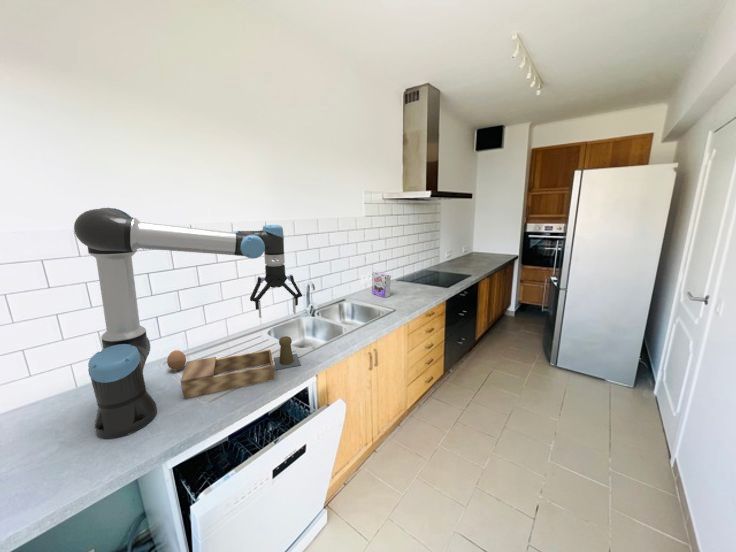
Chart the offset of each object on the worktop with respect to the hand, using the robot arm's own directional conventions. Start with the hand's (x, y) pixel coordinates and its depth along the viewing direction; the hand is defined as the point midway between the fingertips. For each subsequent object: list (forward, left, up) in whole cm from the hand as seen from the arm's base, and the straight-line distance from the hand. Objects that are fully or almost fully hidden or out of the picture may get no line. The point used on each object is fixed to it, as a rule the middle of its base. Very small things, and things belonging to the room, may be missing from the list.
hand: (277, 314), depth 123 cm
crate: (-19, -6, -21) cm, 29 cm away
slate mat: (+2, -2, -21) cm, 22 cm away
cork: (+2, -2, -21) cm, 21 cm away
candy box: (+79, +68, -22) cm, 107 cm away
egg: (-40, +9, -22) cm, 46 cm away
